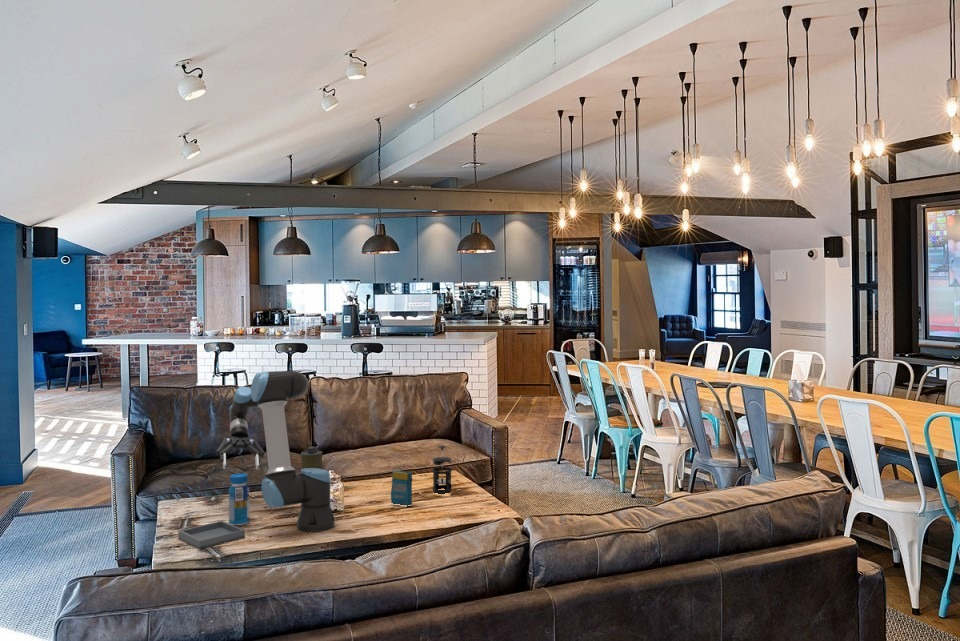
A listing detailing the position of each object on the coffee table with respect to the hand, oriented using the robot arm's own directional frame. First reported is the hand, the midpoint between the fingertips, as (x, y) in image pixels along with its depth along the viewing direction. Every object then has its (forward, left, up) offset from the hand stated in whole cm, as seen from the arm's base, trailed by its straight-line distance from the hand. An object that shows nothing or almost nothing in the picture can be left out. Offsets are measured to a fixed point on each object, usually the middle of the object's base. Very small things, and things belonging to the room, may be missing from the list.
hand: (241, 467), depth 308 cm
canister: (+19, -48, -21) cm, 56 cm away
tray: (-19, +23, -21) cm, 36 cm away
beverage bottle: (-9, +6, -21) cm, 24 cm away
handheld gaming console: (-39, -56, -21) cm, 71 cm away
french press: (-38, -82, -21) cm, 93 cm away
